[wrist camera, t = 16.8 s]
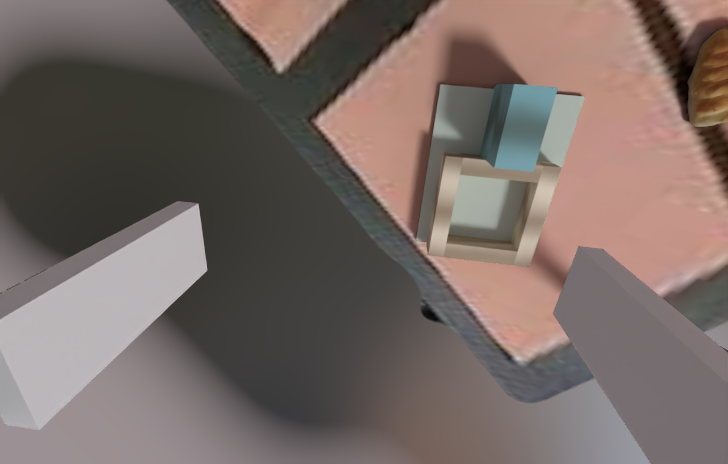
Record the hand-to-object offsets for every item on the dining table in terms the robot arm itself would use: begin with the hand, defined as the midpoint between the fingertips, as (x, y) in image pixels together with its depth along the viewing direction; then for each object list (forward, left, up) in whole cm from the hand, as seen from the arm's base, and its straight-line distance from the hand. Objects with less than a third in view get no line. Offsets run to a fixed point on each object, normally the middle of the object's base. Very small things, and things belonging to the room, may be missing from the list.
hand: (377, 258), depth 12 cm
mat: (+4, +13, -33) cm, 35 cm away
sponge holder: (+4, +13, -32) cm, 35 cm away
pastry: (-8, +34, -33) cm, 48 cm away
